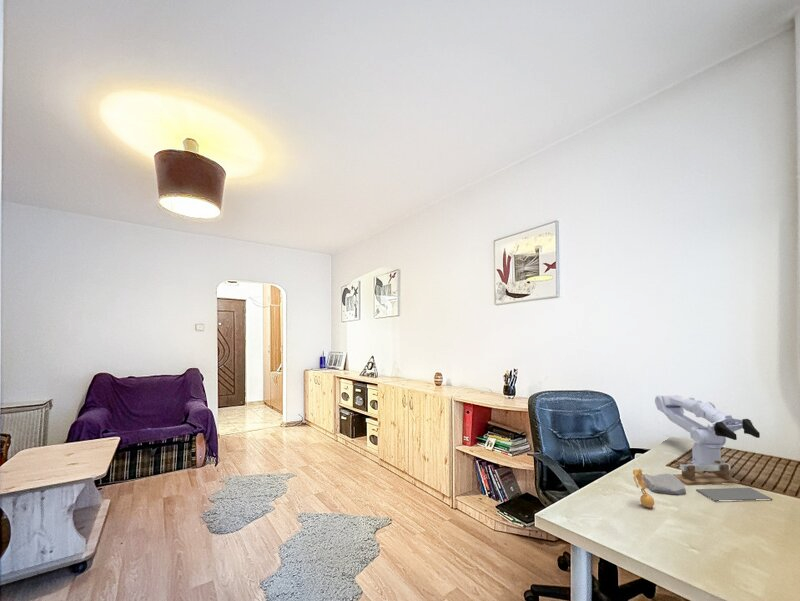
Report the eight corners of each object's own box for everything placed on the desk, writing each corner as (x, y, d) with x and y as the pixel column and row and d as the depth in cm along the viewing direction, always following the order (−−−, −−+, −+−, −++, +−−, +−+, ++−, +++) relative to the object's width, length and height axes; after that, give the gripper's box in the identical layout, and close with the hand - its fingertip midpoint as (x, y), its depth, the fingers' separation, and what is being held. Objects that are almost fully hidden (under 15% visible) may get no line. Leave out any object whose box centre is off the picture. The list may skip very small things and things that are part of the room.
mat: (696, 490, 139) (696, 489, 139) (750, 489, 140) (750, 487, 140) (714, 502, 131) (714, 500, 131) (772, 500, 132) (772, 498, 132)
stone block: (689, 500, 137) (672, 482, 147) (690, 488, 136) (673, 470, 146) (653, 500, 138) (639, 482, 148) (654, 488, 137) (639, 471, 147)
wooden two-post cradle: (686, 485, 144) (686, 467, 144) (672, 477, 151) (672, 460, 151) (739, 483, 144) (738, 466, 145) (723, 475, 151) (722, 459, 152)
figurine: (649, 513, 125) (648, 476, 125) (629, 506, 130) (628, 470, 130) (658, 504, 130) (657, 468, 131) (638, 498, 135) (637, 463, 135)
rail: (683, 471, 147) (683, 466, 147) (679, 469, 149) (679, 464, 149) (730, 470, 147) (730, 464, 147) (725, 468, 149) (725, 462, 149)
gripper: (699, 411, 153) (724, 427, 140) (739, 407, 152) (768, 423, 138) (700, 428, 154) (725, 446, 141) (739, 424, 152) (769, 442, 139)
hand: (747, 436), depth 139 cm, fingers open, 7 cm apart
